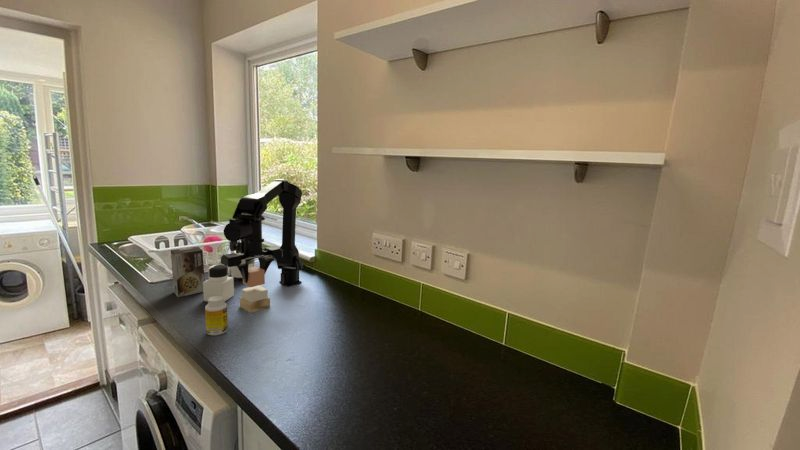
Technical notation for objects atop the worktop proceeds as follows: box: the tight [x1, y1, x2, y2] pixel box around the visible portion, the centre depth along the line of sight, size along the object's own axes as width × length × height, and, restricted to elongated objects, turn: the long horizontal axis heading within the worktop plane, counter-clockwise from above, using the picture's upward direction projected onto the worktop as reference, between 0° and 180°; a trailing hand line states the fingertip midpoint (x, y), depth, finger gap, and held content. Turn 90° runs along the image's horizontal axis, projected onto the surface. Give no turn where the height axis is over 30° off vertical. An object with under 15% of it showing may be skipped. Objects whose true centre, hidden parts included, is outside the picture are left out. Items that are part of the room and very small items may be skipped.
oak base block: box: [239, 296, 271, 314], centre depth 119 cm, size 7×7×4 cm
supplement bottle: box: [204, 296, 229, 336], centre depth 100 cm, size 6×6×10 cm
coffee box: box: [170, 246, 206, 298], centre depth 127 cm, size 9×6×16 cm
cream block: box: [241, 285, 268, 303], centre depth 118 cm, size 6×6×3 cm
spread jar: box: [227, 251, 256, 282], centre depth 146 cm, size 12×11×12 cm
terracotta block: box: [242, 265, 266, 288], centre depth 117 cm, size 5×5×5 cm
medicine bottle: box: [202, 264, 235, 303], centre depth 123 cm, size 7×7×12 cm
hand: (253, 280), depth 117 cm, fingers closed on terracotta block, 5 cm apart
